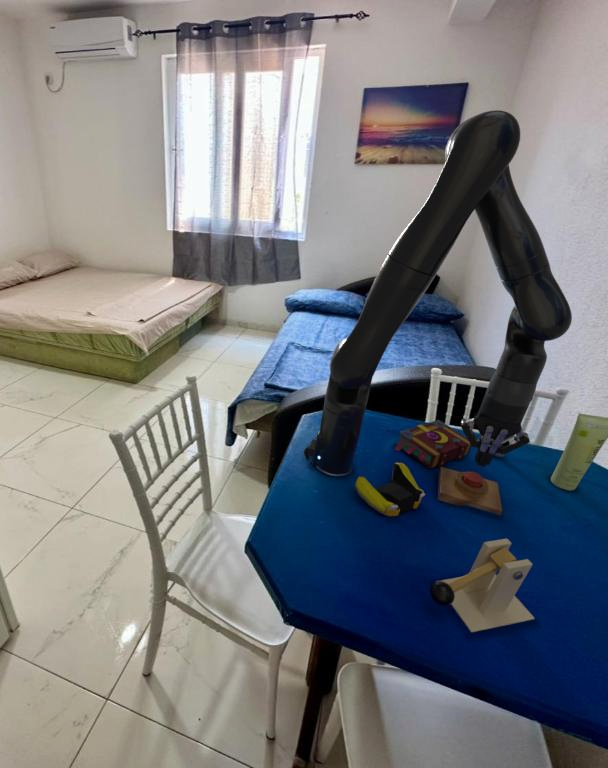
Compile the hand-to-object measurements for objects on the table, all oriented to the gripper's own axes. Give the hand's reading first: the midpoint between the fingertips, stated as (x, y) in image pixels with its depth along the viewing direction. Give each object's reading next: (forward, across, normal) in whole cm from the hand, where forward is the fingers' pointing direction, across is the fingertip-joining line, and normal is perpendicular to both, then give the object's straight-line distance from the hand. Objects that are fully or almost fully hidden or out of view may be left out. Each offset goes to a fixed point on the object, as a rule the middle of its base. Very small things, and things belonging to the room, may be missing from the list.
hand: (480, 463), depth 89 cm
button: (+5, 0, 0) cm, 6 cm away
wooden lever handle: (+3, +2, +31) cm, 31 cm away
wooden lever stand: (+9, -1, +29) cm, 30 cm away
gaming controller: (+9, +16, +10) cm, 21 cm away
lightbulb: (+9, -8, -20) cm, 23 cm away
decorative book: (+9, +8, -14) cm, 19 cm away
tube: (+10, -21, -15) cm, 27 cm away
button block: (+9, 0, 0) cm, 9 cm away
